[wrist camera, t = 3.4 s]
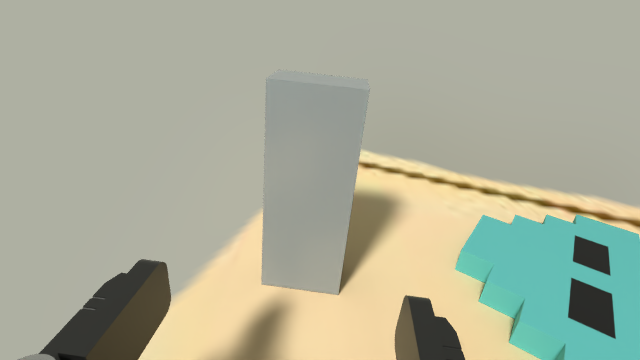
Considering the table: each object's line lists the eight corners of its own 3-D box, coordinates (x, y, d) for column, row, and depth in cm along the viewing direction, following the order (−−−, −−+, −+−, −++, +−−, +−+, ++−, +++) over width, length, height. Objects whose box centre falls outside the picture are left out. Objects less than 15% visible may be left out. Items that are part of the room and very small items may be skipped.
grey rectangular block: (340, 264, 25) (367, 79, 19) (338, 294, 22) (369, 89, 16) (271, 255, 25) (278, 69, 19) (261, 284, 22) (266, 78, 17)
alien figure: (775, 307, 26) (492, 208, 36) (795, 284, 25) (498, 189, 35) (1033, 683, 11) (419, 330, 21) (1112, 663, 10) (428, 303, 20)
